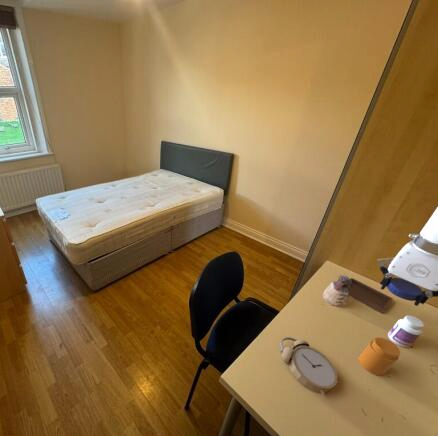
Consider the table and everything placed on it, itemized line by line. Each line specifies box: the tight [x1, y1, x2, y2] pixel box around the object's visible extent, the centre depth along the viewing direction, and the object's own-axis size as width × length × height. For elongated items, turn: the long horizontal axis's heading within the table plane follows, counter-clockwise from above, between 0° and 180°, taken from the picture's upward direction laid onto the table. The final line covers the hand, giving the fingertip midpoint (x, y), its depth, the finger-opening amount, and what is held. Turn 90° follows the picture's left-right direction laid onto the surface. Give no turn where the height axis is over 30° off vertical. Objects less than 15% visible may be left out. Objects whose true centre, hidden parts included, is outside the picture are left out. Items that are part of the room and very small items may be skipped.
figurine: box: [322, 275, 353, 308], centre depth 87 cm, size 7×7×12 cm
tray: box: [348, 277, 394, 314], centre depth 90 cm, size 13×9×2 cm
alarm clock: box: [280, 336, 341, 397], centre depth 68 cm, size 11×5×15 cm
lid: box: [386, 277, 423, 302], centre depth 66 cm, size 7×7×2 cm
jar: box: [357, 337, 401, 377], centre depth 66 cm, size 6×6×10 cm
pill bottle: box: [387, 315, 425, 348], centre depth 73 cm, size 5×5×10 cm
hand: (399, 294), depth 67 cm, fingers closed on lid, 6 cm apart
